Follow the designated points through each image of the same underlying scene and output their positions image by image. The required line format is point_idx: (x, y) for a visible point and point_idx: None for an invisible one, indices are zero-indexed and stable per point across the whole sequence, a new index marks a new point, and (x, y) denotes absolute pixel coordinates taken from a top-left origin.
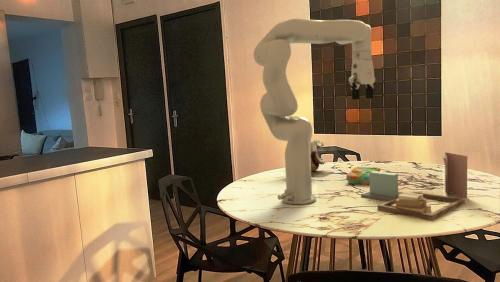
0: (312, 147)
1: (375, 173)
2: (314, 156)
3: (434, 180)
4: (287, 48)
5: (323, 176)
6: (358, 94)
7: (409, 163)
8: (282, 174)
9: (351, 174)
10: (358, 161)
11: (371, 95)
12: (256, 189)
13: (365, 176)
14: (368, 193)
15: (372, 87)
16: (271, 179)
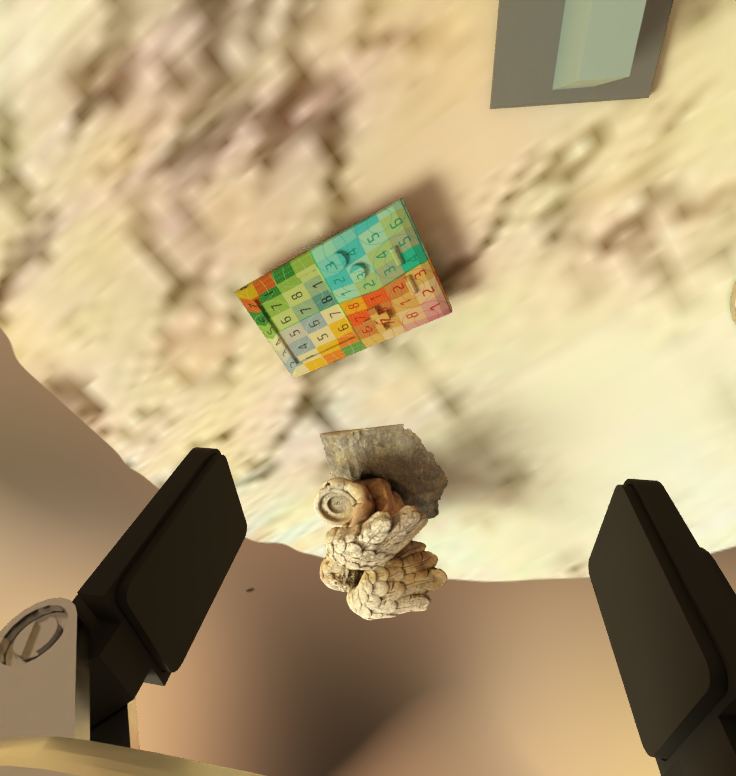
0: (402, 537)
1: (641, 22)
2: (371, 514)
3: (153, 8)
4: None
5: (396, 428)
6: (703, 559)
7: (14, 310)
8: (444, 533)
9: (425, 306)
10: (136, 460)
11: (206, 488)
12: (682, 488)
13: (417, 239)
14: (610, 82)
15: (70, 625)
16: (524, 523)
